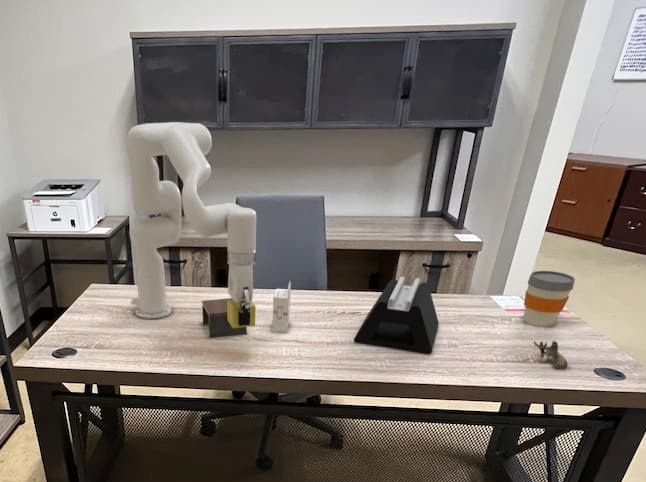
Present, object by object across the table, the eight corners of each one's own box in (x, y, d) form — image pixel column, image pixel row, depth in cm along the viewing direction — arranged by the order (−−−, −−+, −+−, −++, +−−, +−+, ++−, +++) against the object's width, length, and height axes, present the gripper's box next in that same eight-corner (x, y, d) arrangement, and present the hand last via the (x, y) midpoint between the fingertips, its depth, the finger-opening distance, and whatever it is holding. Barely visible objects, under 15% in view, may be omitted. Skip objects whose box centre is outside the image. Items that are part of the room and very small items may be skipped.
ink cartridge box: (274, 322, 177) (276, 279, 170) (288, 323, 176) (291, 279, 169) (271, 332, 170) (273, 287, 162) (286, 333, 169) (289, 288, 162)
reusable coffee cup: (551, 331, 167) (567, 285, 159) (510, 321, 175) (523, 276, 167) (566, 321, 174) (582, 276, 166) (526, 311, 182) (539, 268, 174)
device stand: (438, 326, 172) (448, 281, 164) (431, 354, 154) (441, 305, 146) (367, 316, 180) (374, 273, 172) (353, 342, 162) (359, 295, 155)
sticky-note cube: (232, 328, 148) (232, 307, 145) (227, 319, 153) (227, 300, 150) (255, 326, 149) (255, 305, 146) (249, 317, 155) (249, 298, 151)
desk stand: (209, 337, 167) (209, 313, 163) (202, 323, 177) (202, 300, 173) (246, 334, 169) (247, 310, 165) (237, 320, 179) (237, 297, 175)
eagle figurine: (524, 353, 151) (549, 361, 143) (539, 331, 150) (565, 338, 141) (541, 365, 154) (567, 373, 145) (557, 343, 152) (583, 351, 144)
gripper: (220, 250, 148) (221, 310, 158) (235, 267, 134) (235, 333, 143) (246, 248, 150) (245, 308, 159) (264, 265, 135) (262, 330, 144)
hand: (240, 319), depth 151 cm, fingers closed on sticky-note cube, 6 cm apart
